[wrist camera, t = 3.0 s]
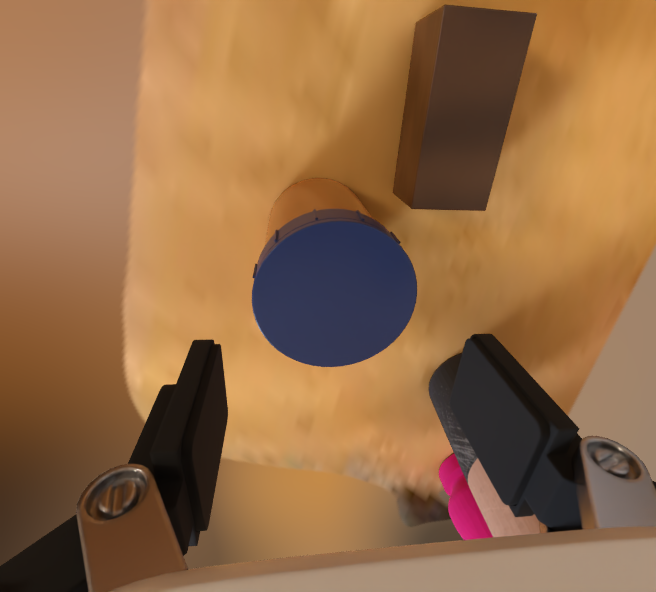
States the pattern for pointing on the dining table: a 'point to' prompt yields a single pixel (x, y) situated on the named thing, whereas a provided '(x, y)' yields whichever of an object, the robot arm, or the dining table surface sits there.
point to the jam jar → (311, 201)
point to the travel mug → (474, 460)
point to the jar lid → (333, 288)
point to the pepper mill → (462, 502)
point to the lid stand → (459, 105)
